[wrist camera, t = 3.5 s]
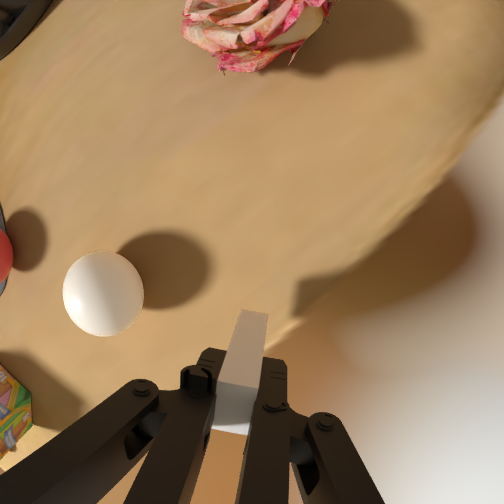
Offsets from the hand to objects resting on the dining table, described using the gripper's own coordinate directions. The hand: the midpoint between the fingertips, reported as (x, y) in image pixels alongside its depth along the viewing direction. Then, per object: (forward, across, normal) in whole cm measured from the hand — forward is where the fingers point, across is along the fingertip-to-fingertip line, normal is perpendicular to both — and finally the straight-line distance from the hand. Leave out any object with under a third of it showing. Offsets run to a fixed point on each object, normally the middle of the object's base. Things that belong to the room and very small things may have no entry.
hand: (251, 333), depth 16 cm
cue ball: (0, -10, 0) cm, 10 cm away
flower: (+3, -3, +18) cm, 19 cm away
